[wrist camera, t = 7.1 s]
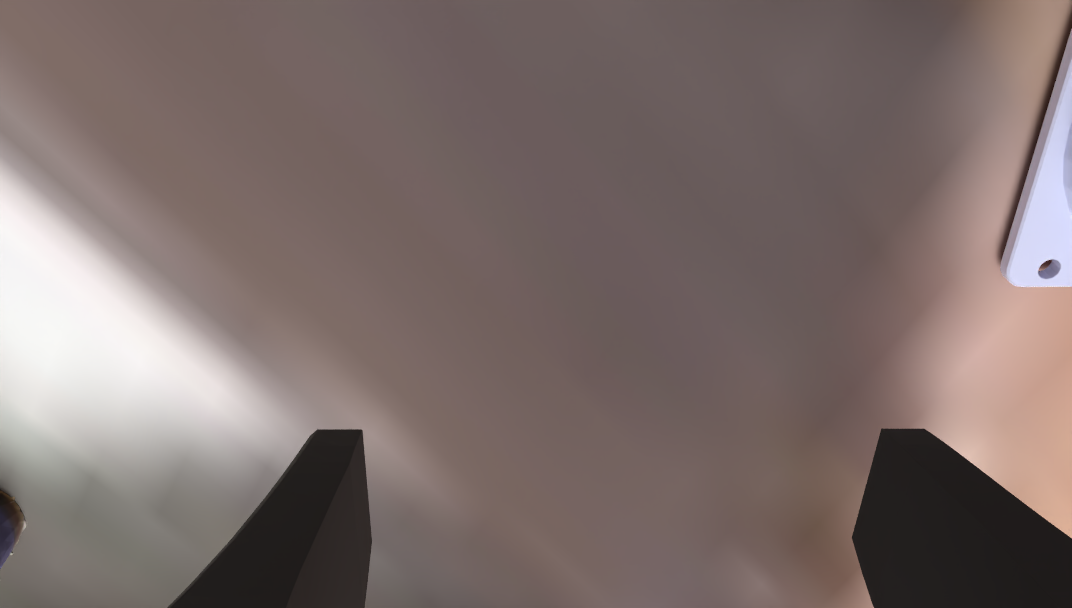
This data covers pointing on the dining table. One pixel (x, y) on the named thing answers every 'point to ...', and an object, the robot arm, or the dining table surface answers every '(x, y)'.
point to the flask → (9, 525)
